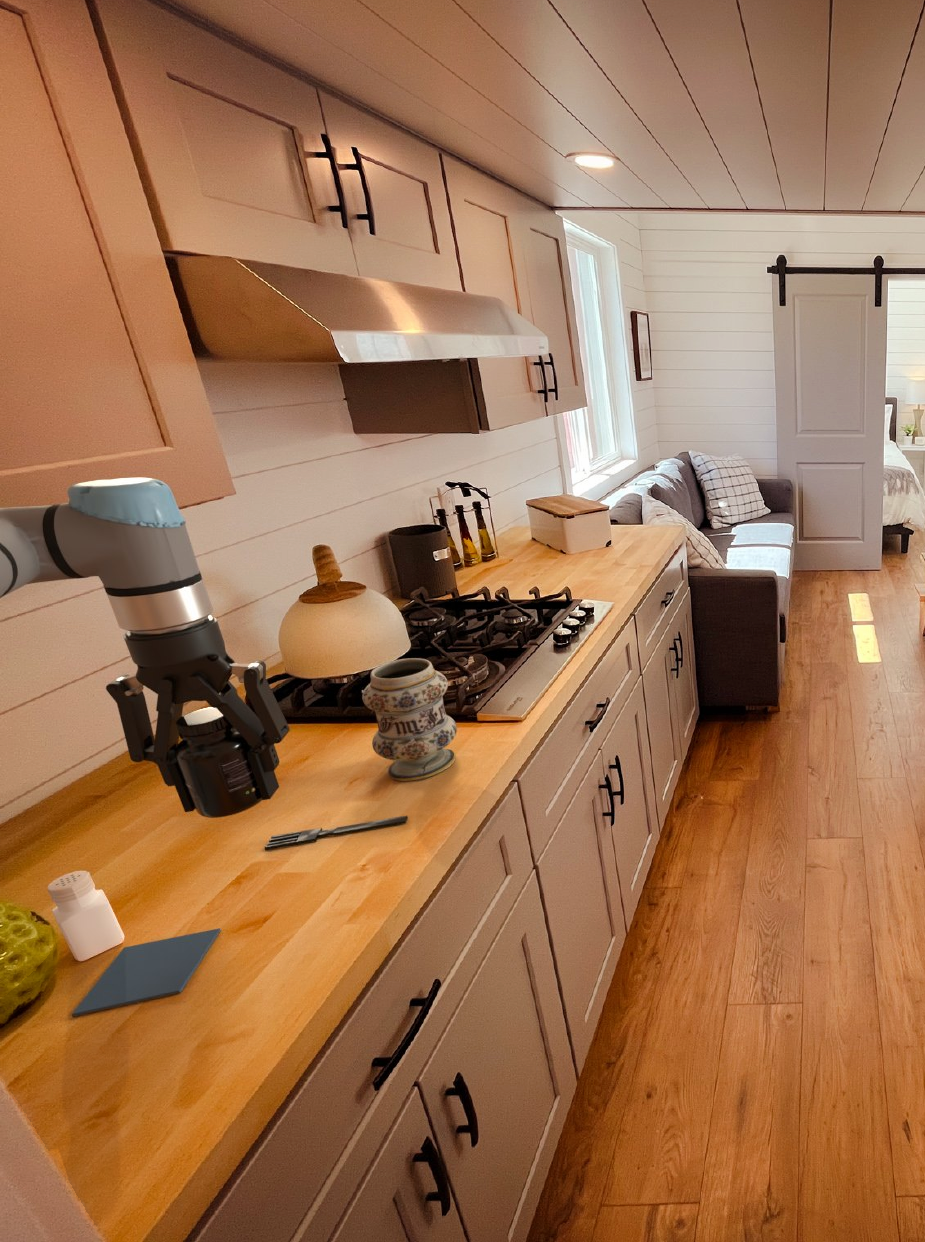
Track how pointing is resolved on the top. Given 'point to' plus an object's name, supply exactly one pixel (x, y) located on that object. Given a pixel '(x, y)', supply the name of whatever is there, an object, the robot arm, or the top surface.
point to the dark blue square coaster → (148, 972)
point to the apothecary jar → (411, 718)
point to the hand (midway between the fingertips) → (233, 798)
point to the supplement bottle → (215, 764)
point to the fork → (328, 832)
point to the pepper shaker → (84, 915)
